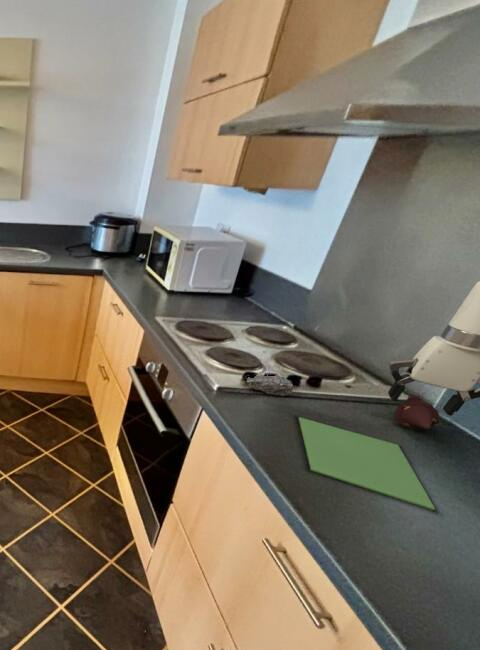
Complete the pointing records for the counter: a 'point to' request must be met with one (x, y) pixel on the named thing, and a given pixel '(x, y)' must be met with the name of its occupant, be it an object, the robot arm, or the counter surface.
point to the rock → (271, 384)
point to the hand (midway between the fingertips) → (418, 405)
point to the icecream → (416, 414)
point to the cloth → (362, 462)
